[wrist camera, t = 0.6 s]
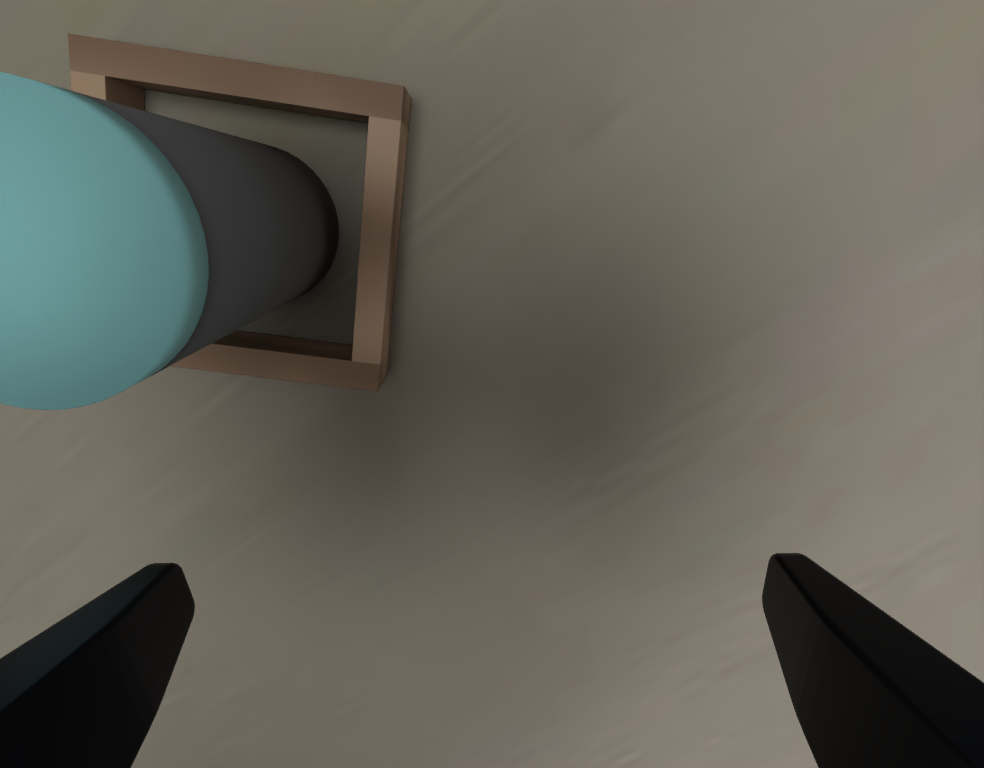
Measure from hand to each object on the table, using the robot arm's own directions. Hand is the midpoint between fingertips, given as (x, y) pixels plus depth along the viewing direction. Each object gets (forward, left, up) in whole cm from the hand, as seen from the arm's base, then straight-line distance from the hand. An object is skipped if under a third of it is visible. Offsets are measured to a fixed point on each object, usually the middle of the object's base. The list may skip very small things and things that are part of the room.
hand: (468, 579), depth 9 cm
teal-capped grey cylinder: (-6, +7, -15) cm, 17 cm away
